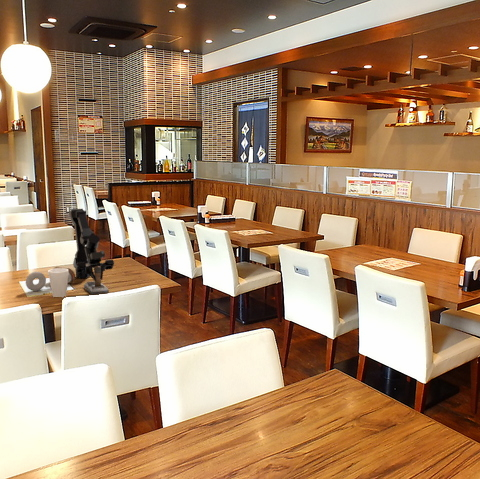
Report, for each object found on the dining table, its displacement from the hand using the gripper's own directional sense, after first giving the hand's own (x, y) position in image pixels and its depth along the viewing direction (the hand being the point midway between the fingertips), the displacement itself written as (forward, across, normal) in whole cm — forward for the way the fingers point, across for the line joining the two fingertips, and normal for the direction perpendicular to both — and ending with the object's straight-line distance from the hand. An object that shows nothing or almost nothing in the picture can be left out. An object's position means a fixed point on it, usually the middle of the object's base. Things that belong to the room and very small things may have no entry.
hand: (98, 279), depth 244 cm
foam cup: (+3, -18, +7) cm, 20 cm away
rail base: (+1, 0, +8) cm, 8 cm away
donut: (-8, -27, +17) cm, 33 cm away
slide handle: (+3, 0, +5) cm, 5 cm away
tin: (-15, -12, +24) cm, 31 cm away
